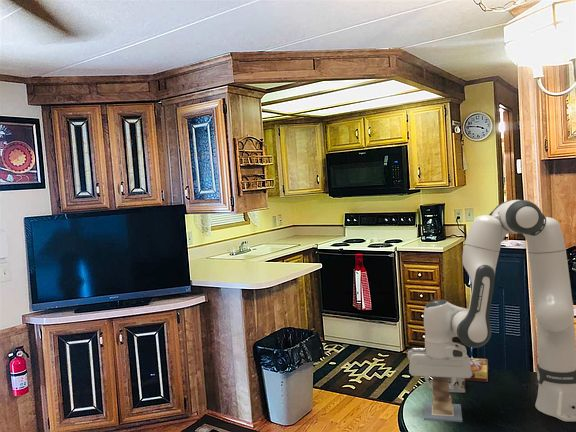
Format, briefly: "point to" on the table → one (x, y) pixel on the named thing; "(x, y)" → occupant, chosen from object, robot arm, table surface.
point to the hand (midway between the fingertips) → (440, 388)
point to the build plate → (454, 417)
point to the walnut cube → (440, 387)
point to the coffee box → (457, 384)
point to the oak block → (442, 405)
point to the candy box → (478, 370)
